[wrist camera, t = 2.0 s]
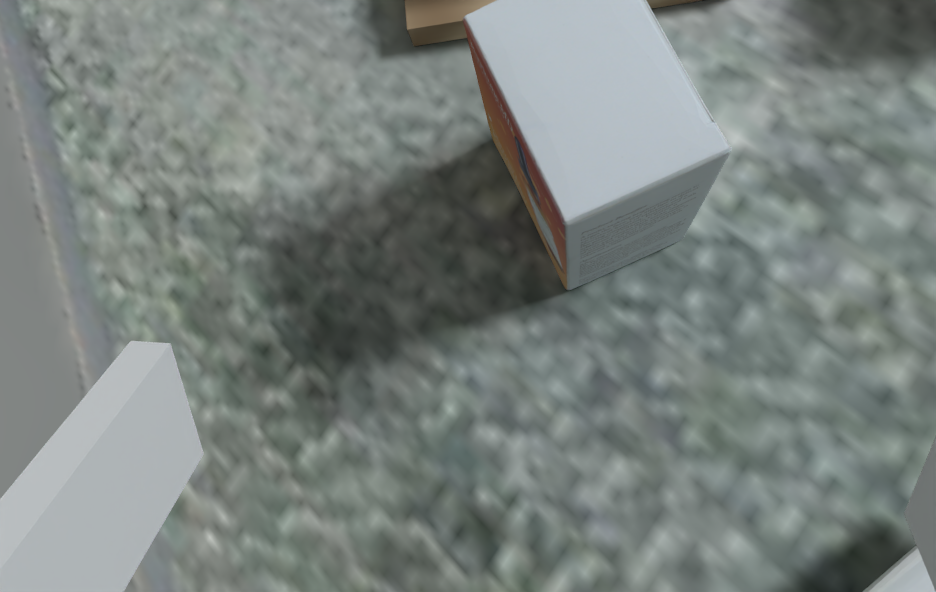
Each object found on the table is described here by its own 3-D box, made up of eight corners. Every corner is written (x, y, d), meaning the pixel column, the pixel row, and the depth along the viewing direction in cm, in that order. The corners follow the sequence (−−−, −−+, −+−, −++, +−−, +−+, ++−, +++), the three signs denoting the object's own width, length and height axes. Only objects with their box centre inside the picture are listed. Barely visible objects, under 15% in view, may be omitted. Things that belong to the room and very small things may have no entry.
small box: (490, 138, 35) (455, 10, 25) (604, 85, 35) (616, -67, 25) (565, 296, 33) (561, 228, 23) (686, 242, 33) (736, 148, 23)
